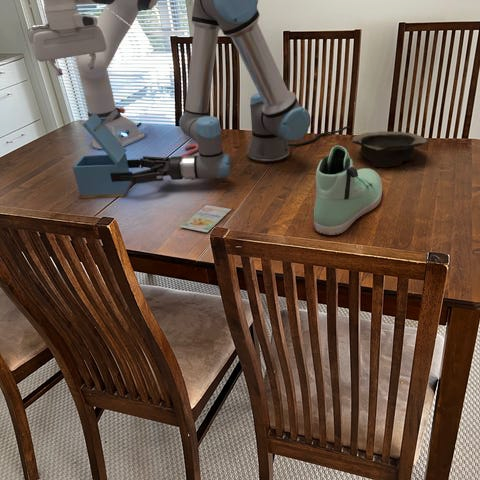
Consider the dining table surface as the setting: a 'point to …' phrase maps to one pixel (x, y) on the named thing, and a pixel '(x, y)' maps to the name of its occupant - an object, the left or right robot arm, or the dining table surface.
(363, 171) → the sneaker
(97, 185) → the chest
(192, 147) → the candy cane
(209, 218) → the baking ingredient package
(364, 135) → the stone bowl
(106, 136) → the lid
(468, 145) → the dining table surface
